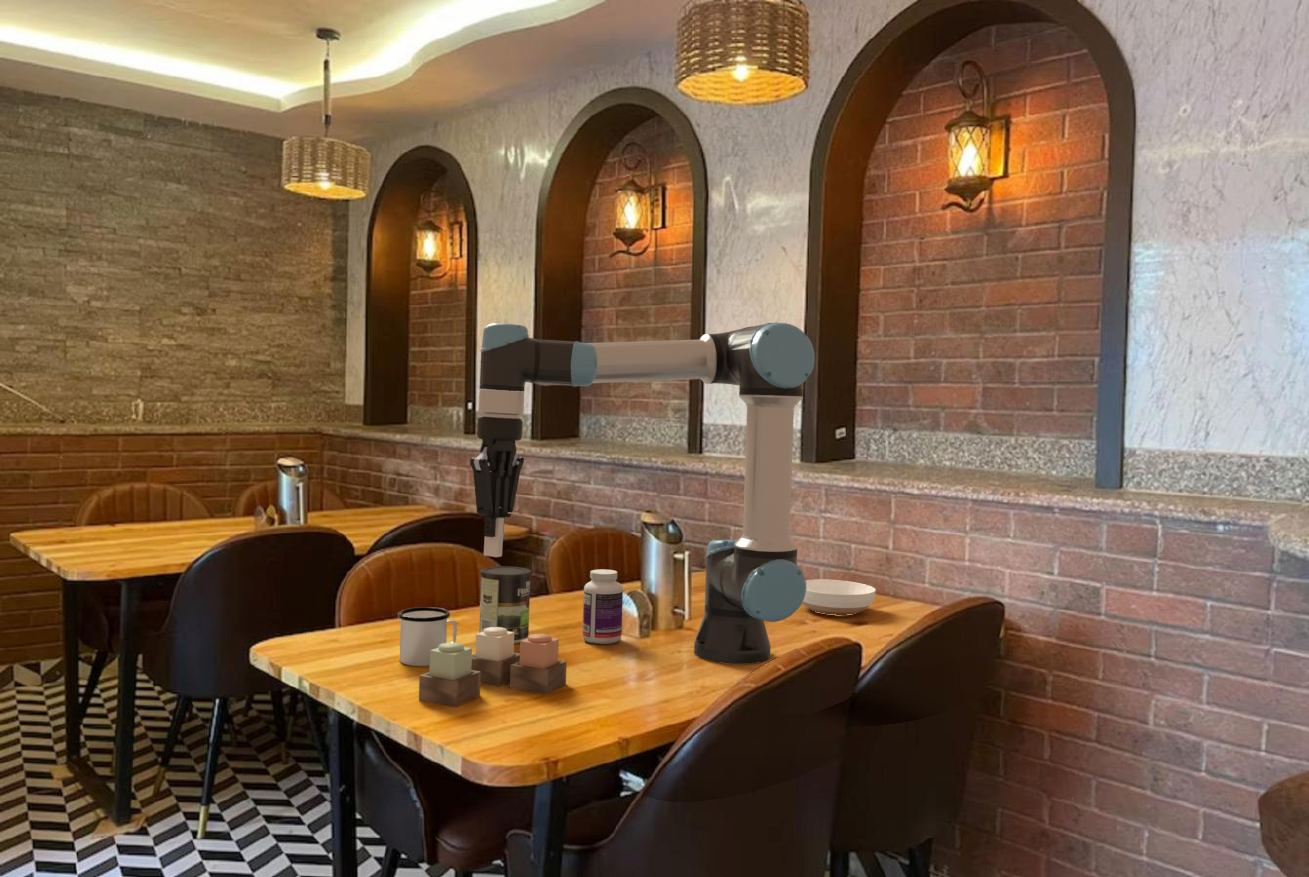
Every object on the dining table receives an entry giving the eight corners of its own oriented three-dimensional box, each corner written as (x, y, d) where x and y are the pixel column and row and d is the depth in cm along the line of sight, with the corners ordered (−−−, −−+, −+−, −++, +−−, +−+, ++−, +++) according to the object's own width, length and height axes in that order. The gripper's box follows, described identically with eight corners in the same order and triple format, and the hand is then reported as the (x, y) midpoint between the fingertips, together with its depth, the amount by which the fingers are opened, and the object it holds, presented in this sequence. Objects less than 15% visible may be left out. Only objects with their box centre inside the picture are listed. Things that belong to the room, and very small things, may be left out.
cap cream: (513, 665, 171) (514, 628, 171) (498, 672, 167) (499, 634, 167) (490, 661, 173) (491, 625, 173) (474, 668, 169) (476, 630, 169)
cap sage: (470, 684, 160) (472, 644, 159) (453, 691, 155) (454, 650, 155) (446, 679, 162) (447, 640, 161) (429, 687, 157) (430, 646, 157)
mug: (415, 670, 173) (416, 620, 173) (386, 659, 180) (387, 611, 179) (470, 659, 182) (471, 611, 182) (440, 649, 188) (442, 603, 188)
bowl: (885, 610, 241) (887, 586, 241) (857, 624, 224) (859, 598, 224) (812, 599, 251) (813, 576, 251) (780, 612, 235) (782, 586, 235)
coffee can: (535, 634, 203) (537, 567, 202) (519, 646, 193) (521, 576, 192) (489, 630, 205) (491, 564, 204) (470, 642, 195) (472, 572, 194)
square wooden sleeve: (521, 676, 172) (522, 654, 172) (499, 686, 166) (500, 663, 166) (488, 670, 175) (488, 648, 175) (465, 680, 169) (466, 657, 168)
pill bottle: (628, 639, 202) (630, 570, 201) (610, 647, 194) (612, 576, 194) (593, 634, 205) (596, 566, 205) (575, 642, 198) (577, 572, 197)
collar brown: (565, 683, 169) (566, 661, 168) (545, 694, 162) (546, 670, 162) (531, 677, 171) (531, 655, 171) (509, 688, 165) (510, 664, 165)
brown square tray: (479, 695, 160) (480, 671, 160) (454, 706, 154) (455, 682, 154) (444, 688, 163) (445, 665, 163) (418, 699, 157) (419, 675, 156)
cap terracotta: (557, 673, 168) (558, 635, 168) (543, 680, 163) (544, 641, 163) (533, 669, 170) (534, 631, 170) (519, 675, 165) (520, 637, 165)
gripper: (503, 415, 170) (495, 549, 171) (458, 414, 158) (451, 557, 159) (539, 418, 167) (532, 554, 168) (497, 416, 155) (489, 563, 156)
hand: (492, 555), depth 164 cm, fingers closed
